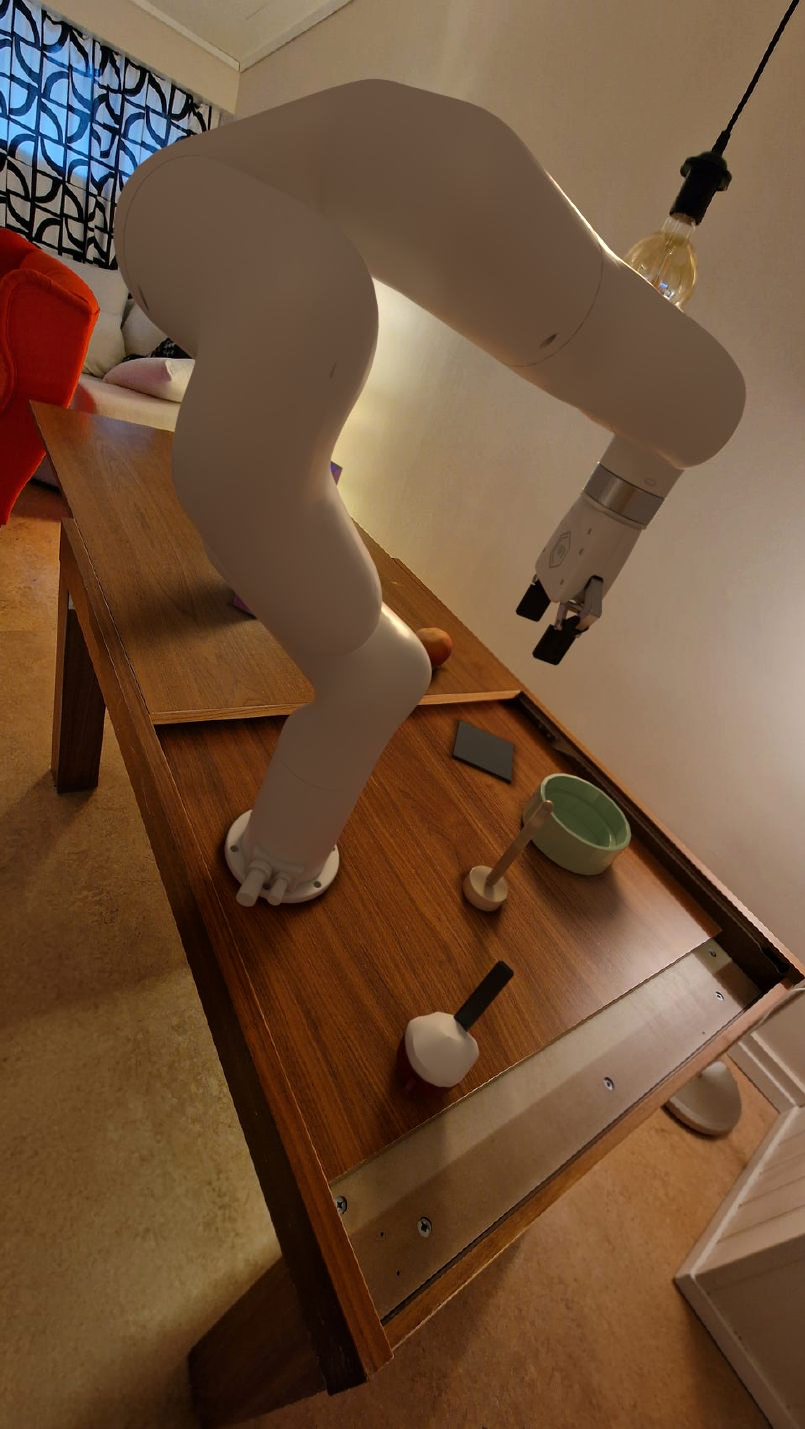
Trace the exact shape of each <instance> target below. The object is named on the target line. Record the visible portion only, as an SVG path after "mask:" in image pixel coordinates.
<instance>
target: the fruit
mask: <svg viewBox="0 0 805 1429" xmlns="http://www.w3.org/2000/svg"><path fill="white" fill-rule="evenodd" d="M414 633H415V635H416V636H417V637H418V639H419V640H420V641H421V643H422V644H423V646H424V648H425V650H426V652H427V654H428V656H429V659H430V663H431V671H433V670H434V669H436V668H438V667H440V668H441V669H443V667H442V665H444V664H445V662H446V661H448V660H449V658H450V656H451V655H452V652H453V641H452V638H451V636H450V635H449V633H448V632H446V631H444V630H442V629H440V628H438V627H428V628H427V627H426V628H420V629H418V630H417V631H415V632H414Z"/></svg>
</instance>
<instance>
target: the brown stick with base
mask: <svg viewBox="0 0 805 1429" xmlns="http://www.w3.org/2000/svg"><path fill="white" fill-rule="evenodd" d="M553 810H554V804H553V803H552V802H551V801H549V800H545V801H543V802H542V804H541V805H540V806H539V808H538V809H537V810H536V812H535V813H534V814H533V815H532V817H531V818H530V819H529V821H528V822H527V823H526V825H525V826H524V825H523V827H522V828H521V830H520V831H519V833H518V834H516V835H517V836H516V837H515V838H514V839H513V841H512V842H511V843H510V845H509V846H508V847H507V848H506V850H505V852H504V853H503V854H502V855H501V856H500V858H499V859H498V861H497V862H496V863H495V864H494V866H493V868H492V867H490V866H486V865H477V866H474V867H473V868H472V869H471V870H470V871H469V872H468V874H467V875H466V876H465V878H464V879H463V881H462V891H463V894H464V896H465V898H466V899H467V901H468V902H469V903H470V904H471V905H472V906H473V907H475V908H477V909H479V910H481V911H484V912H494V911H496V910H497V909H499V908H500V907H501V905H502V904H503V902H504V901H505V900H507V897H508V895H509V887H508V884H507V882H506V880H505V879H504V875H505V874H506V872H507V871H508V869H509V868H510V867H511V865H512V864H513V863H514V861H515V860H516V859H517V857H519V855H520V854H521V853H522V852H523V850H524V848H526V846H527V845H528V844H529V842H531V841H532V839H531V838H532V837H533V836H534V834H535V833H536V832H537V831H538V829H539V828H540V827H541V825H542V824H543V823H544V821H545V820H546V819H547V818H548V816H549V815H550V814H551V812H552V811H553Z"/></svg>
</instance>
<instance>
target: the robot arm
mask: <svg viewBox="0 0 805 1429" xmlns="http://www.w3.org/2000/svg"><path fill="white" fill-rule="evenodd" d="M112 234H113V236H112V237H113V239H112V241H113V242H112V243H113V248H114V254H115V260H116V263H117V266H118V269H119V272H120V274H121V277H122V280H123V282H124V285H125V286H126V288H127V290H128V292H129V294H130V296H131V297H132V300H133V301H134V303H135V304H136V305H137V306H138V307H139V309H141V311H142V313H144V315H145V316H146V318H147V319H148V320H149V321H150V322H151V323H152V324H153V325H154V326H155V327H156V328H157V329H158V330H159V331H161V332H162V333H163V334H164V335H165V336H166V337H167V338H169V339H170V340H171V341H172V342H173V343H174V344H176V345H177V346H178V347H179V348H180V349H181V350H182V351H183V352H185V353H186V354H187V355H188V356H189V357H190V358H191V359H192V360H194V365H193V368H192V371H191V374H190V377H189V379H188V382H187V385H186V388H185V390H184V393H183V396H182V400H181V402H180V405H179V409H178V413H177V416H176V421H175V427H174V431H173V437H172V438H173V439H172V443H171V455H170V472H171V480H172V484H173V487H174V491H175V493H176V497H177V500H178V501H179V504H180V506H181V507H182V509H183V511H184V513H185V514H186V515H187V517H188V519H189V520H190V521H191V523H192V525H193V526H194V527H195V529H196V530H197V532H198V533H199V534H200V536H201V541H202V546H203V549H204V552H205V554H206V557H207V559H208V560H209V562H210V565H211V566H212V567H213V568H214V569H215V570H216V572H217V573H218V575H220V576H221V578H222V579H223V580H224V581H225V583H227V585H228V586H229V587H230V588H231V590H232V591H233V592H234V593H235V594H237V595H238V596H239V598H240V599H241V600H242V601H243V602H244V604H245V605H246V606H247V607H248V608H249V609H250V610H251V612H252V613H253V614H254V615H255V616H256V617H257V618H256V619H257V620H258V621H259V622H260V623H261V625H262V626H263V627H264V628H265V629H266V630H267V632H268V633H269V634H270V635H271V636H272V637H273V639H274V640H275V641H276V642H277V643H278V645H279V646H280V647H281V649H282V650H283V651H284V652H285V653H286V655H287V656H288V657H289V658H290V660H292V661H293V662H294V664H295V665H296V666H297V668H299V670H300V672H301V673H302V675H303V676H304V677H305V678H306V679H307V681H308V682H309V683H310V685H311V687H312V688H313V692H314V698H313V700H312V701H309V702H307V703H304V704H302V705H299V706H298V707H297V708H296V709H294V710H293V711H292V712H291V713H290V715H289V716H288V717H287V718H286V720H285V722H284V724H283V727H282V729H281V731H280V734H279V736H278V740H277V743H276V746H275V749H274V751H273V753H272V756H271V760H270V762H269V764H268V768H267V770H266V773H265V775H264V778H263V781H262V783H261V786H260V789H259V791H258V794H257V796H256V799H255V802H254V804H253V807H252V809H249V810H247V811H246V812H244V813H243V814H241V815H239V816H238V818H236V819H235V820H234V822H233V823H232V825H231V826H230V828H229V830H228V832H227V835H226V838H225V844H224V857H225V860H226V863H227V864H226V865H227V867H228V868H229V870H230V872H231V874H232V876H234V878H235V879H236V880H237V881H238V883H239V884H240V885H241V886H240V888H239V890H238V892H237V893H236V895H235V900H236V902H237V903H238V904H239V905H241V906H243V907H248V908H249V907H253V906H254V905H255V904H256V902H257V900H258V898H259V897H261V898H262V899H265V900H266V901H267V902H268V903H269V905H272V906H279V905H280V904H296V903H303V902H307V901H310V900H313V899H315V898H317V897H318V896H320V895H322V894H323V893H325V891H327V889H329V887H330V885H331V884H332V883H333V881H334V879H335V877H336V875H337V873H338V870H339V866H340V853H339V850H338V846H337V843H338V841H339V838H340V837H341V834H342V832H343V830H344V828H345V827H346V824H347V823H348V821H349V819H350V817H351V815H352V812H353V811H354V808H355V807H356V805H357V803H358V801H359V798H360V797H361V795H362V793H363V791H364V789H365V787H366V785H367V784H368V781H369V779H370V777H371V775H372V773H373V771H374V769H375V767H376V765H377V763H378V761H379V759H380V758H381V756H382V754H383V753H384V751H385V749H386V747H387V745H388V744H389V742H390V741H391V740H392V738H393V736H394V735H395V733H396V732H397V731H398V729H399V728H400V727H401V726H402V724H403V723H404V722H405V720H406V719H407V718H408V717H409V716H410V714H412V713H413V711H414V710H415V709H416V707H417V706H418V705H419V704H420V702H421V701H422V700H423V698H424V697H425V695H426V693H427V691H428V690H429V687H430V685H431V680H432V675H433V674H432V673H433V672H432V671H433V670H432V671H431V663H430V659H429V656H428V654H427V652H426V650H425V648H424V646H423V644H422V643H421V641H420V640H419V639H418V637H417V636H416V635H415V632H414V631H413V630H412V629H411V628H410V626H408V624H406V623H405V621H403V620H402V618H400V617H399V616H398V615H397V614H396V613H395V612H394V611H393V610H392V609H391V607H389V606H388V605H387V604H386V603H385V602H384V601H383V593H382V584H381V580H380V577H379V573H378V570H377V567H376V563H375V562H374V560H373V559H372V556H371V554H370V552H369V550H368V548H367V546H366V545H365V543H364V542H363V539H362V538H361V535H360V534H359V531H358V529H357V527H356V525H355V524H354V521H353V519H352V517H351V514H350V513H349V511H348V508H347V507H346V505H345V503H344V500H343V499H342V496H341V494H340V491H339V489H338V485H337V486H336V483H335V481H334V478H333V475H332V473H331V468H330V464H331V461H332V456H333V454H334V450H335V448H336V444H337V442H338V439H339V437H340V435H341V433H342V430H343V428H344V426H345V424H346V422H347V420H348V418H349V416H350V415H351V413H352V411H353V409H354V407H355V406H356V404H357V403H358V400H359V398H360V396H361V394H362V392H363V390H364V388H365V385H366V383H367V381H368V379H369V376H370V373H371V370H372V368H373V364H374V360H375V356H376V352H377V347H378V337H379V328H380V325H379V324H380V322H379V320H380V319H379V314H380V313H379V304H378V299H377V298H378V297H377V294H376V289H375V284H374V280H376V281H378V282H379V283H381V284H382V285H385V286H386V287H387V288H391V289H392V290H393V291H396V292H397V293H399V294H401V295H402V296H403V297H405V298H407V299H408V300H410V302H413V303H414V304H415V305H417V306H418V307H419V308H422V309H423V310H424V311H426V312H427V313H429V314H430V315H432V316H433V317H434V318H436V319H437V320H439V321H441V322H442V323H443V324H444V325H446V326H447V327H449V328H450V329H452V330H454V331H455V332H457V334H458V335H460V336H462V337H464V338H465V339H466V340H468V341H469V342H471V343H472V344H474V345H475V346H476V347H478V348H480V349H481V350H482V351H483V352H484V353H487V354H488V355H490V357H492V358H494V359H495V360H497V361H498V362H499V363H501V365H503V366H505V367H506V368H508V369H509V370H510V371H512V372H513V373H514V374H516V375H517V376H518V377H521V378H522V379H523V380H525V381H527V382H528V383H530V384H532V385H534V386H535V387H537V388H538V389H540V390H541V391H543V392H544V393H547V394H548V395H550V396H551V397H553V398H555V399H557V400H559V401H561V402H562V403H565V404H567V405H569V406H571V407H572V408H576V409H577V410H578V411H579V412H580V413H581V414H582V415H583V416H584V417H585V418H587V419H588V420H590V421H591V422H593V423H594V424H596V425H598V426H600V427H601V428H602V429H605V430H606V431H608V432H609V433H612V434H613V435H612V437H611V439H610V441H609V443H608V444H607V446H606V447H605V449H604V451H603V453H602V455H601V456H600V457H599V459H598V462H597V463H596V465H595V466H594V468H593V470H592V472H591V473H590V475H589V477H588V479H587V480H586V482H585V484H584V486H583V487H582V489H581V491H580V493H579V496H578V497H577V499H576V500H575V501H574V503H572V505H571V507H570V508H569V509H568V511H567V512H566V513H565V515H564V516H563V517H562V519H561V521H560V522H559V524H558V526H557V527H556V528H555V530H554V531H553V533H552V535H551V536H550V538H549V539H548V541H547V543H546V545H545V546H544V547H543V548H542V551H541V552H540V554H539V556H538V557H537V559H536V561H535V565H534V569H535V574H534V575H533V577H532V579H531V583H530V584H529V586H528V588H527V590H526V591H525V593H524V595H522V596H523V597H522V598H521V600H520V601H519V604H518V605H517V606H516V608H515V613H516V614H515V615H517V616H519V617H521V618H524V619H527V620H529V621H532V622H535V623H538V622H540V621H541V620H542V618H543V616H544V615H545V613H546V611H547V610H548V608H549V606H550V604H551V603H554V604H559V605H558V608H557V613H556V617H555V620H554V624H551V623H549V624H548V626H547V628H546V629H545V631H544V633H543V634H542V636H541V637H540V639H539V641H538V642H537V644H536V646H535V647H534V648H533V650H532V653H531V654H532V657H533V658H534V659H536V660H538V661H541V662H544V663H547V664H550V665H551V666H558V665H560V663H561V662H562V660H563V658H564V657H565V656H566V654H567V653H568V651H569V650H570V648H571V647H572V646H573V644H574V643H575V641H576V639H579V638H581V636H582V634H584V633H586V632H587V631H588V630H589V629H590V627H591V626H592V625H594V623H596V622H597V621H598V620H599V619H601V617H602V614H603V600H604V599H605V597H606V595H607V594H608V592H610V589H611V588H612V587H613V585H614V583H615V581H616V580H617V578H618V576H619V574H620V573H621V571H622V569H623V568H624V566H625V564H626V563H627V561H628V559H629V557H630V556H631V554H632V551H633V550H634V547H635V546H636V544H637V542H638V540H639V538H640V536H641V533H642V531H646V530H647V529H648V528H649V526H650V524H651V523H652V521H653V520H654V518H655V517H656V516H657V513H658V512H659V511H660V509H661V508H662V507H663V504H664V503H665V502H666V500H667V498H668V497H669V495H670V494H671V492H672V490H673V489H674V487H675V486H676V485H677V483H678V481H679V480H680V479H681V477H682V476H683V474H684V473H685V471H686V470H689V469H694V468H696V467H699V466H701V465H703V464H705V463H707V462H708V461H710V460H712V459H713V458H714V457H716V456H717V455H718V454H719V453H720V452H722V450H724V449H725V447H726V446H727V445H728V444H729V442H730V441H731V440H732V439H733V436H734V435H735V433H736V432H737V430H738V429H739V426H740V424H741V421H742V419H743V416H744V414H745V410H746V409H745V408H746V402H747V385H746V382H745V377H744V375H743V373H742V371H741V369H740V368H739V366H738V365H737V363H736V362H735V360H734V359H733V357H732V356H731V355H730V353H729V352H728V351H727V349H726V348H725V347H724V346H723V345H722V343H721V342H719V340H717V339H716V337H714V336H713V335H712V334H711V332H709V331H708V330H707V329H706V328H704V327H703V326H702V325H701V324H700V323H698V322H697V321H696V320H694V318H692V317H691V316H689V314H688V313H686V312H685V311H683V310H682V309H681V308H680V307H679V306H677V305H676V304H675V303H673V301H671V300H670V299H669V298H667V296H665V295H664V294H663V293H661V291H659V290H658V289H657V288H656V287H655V286H654V285H653V284H652V283H651V282H649V280H648V279H647V278H645V277H644V276H643V275H641V273H639V272H638V271H637V270H635V269H634V268H632V267H631V266H630V265H628V264H627V263H626V262H625V261H623V260H622V259H621V258H620V257H618V256H617V255H616V254H615V253H614V251H612V250H611V248H609V247H608V245H607V244H606V243H605V242H604V240H603V239H602V238H601V237H600V236H599V235H598V233H597V232H596V231H595V229H594V228H593V227H592V226H591V225H590V224H589V222H588V221H587V220H586V218H585V217H584V215H582V213H581V212H580V211H579V210H578V208H577V206H575V205H574V203H573V202H572V201H571V199H570V198H569V197H568V196H567V194H566V193H565V192H564V191H563V190H562V187H560V186H559V184H558V182H556V181H555V180H554V178H553V177H552V176H551V174H550V173H549V171H547V169H546V168H545V167H544V165H542V163H541V162H540V160H538V158H537V157H536V155H535V154H534V152H532V150H531V149H530V148H529V147H528V146H527V145H526V144H525V142H524V141H523V139H522V138H521V137H520V136H519V135H518V134H517V133H516V131H514V129H513V128H512V127H510V126H509V125H508V124H507V123H506V122H505V121H503V120H502V119H501V118H500V117H498V116H497V115H495V114H494V113H492V112H491V111H488V110H487V109H485V108H484V107H481V106H478V105H477V104H474V103H471V102H469V101H465V100H462V99H458V98H455V97H452V96H448V95H444V94H441V93H436V92H433V91H429V90H427V89H422V88H419V87H414V86H411V85H408V84H405V83H400V82H398V81H394V80H390V79H381V78H366V79H360V80H359V79H358V80H355V81H350V82H347V83H344V84H340V85H335V86H332V87H329V88H327V89H323V90H319V91H317V92H314V93H311V94H309V95H306V96H302V97H300V98H297V99H294V100H292V101H289V102H286V103H282V104H280V105H278V106H275V107H272V108H269V109H266V110H264V111H261V112H258V113H255V114H253V115H249V116H247V117H244V118H241V119H238V120H234V121H232V122H229V123H226V124H223V125H219V126H217V127H214V128H211V129H208V130H205V131H202V132H199V133H197V134H193V135H190V136H188V137H186V138H182V139H180V140H177V141H175V142H173V143H170V144H168V145H166V146H164V147H162V148H159V149H158V150H157V151H155V152H153V153H152V154H151V155H149V156H148V157H147V158H146V159H145V160H143V161H142V162H140V164H138V166H137V167H136V168H135V169H134V171H133V172H132V173H131V175H130V176H129V177H128V179H127V180H126V181H125V183H124V185H123V187H122V190H121V192H120V194H119V196H118V199H117V202H116V207H115V211H114V217H113V233H112ZM373 279H374V280H373ZM569 612H571V613H574V614H573V615H571V616H569V617H567V616H568V613H569Z"/></svg>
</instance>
